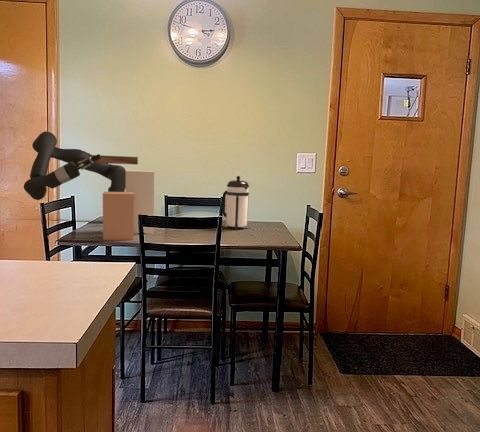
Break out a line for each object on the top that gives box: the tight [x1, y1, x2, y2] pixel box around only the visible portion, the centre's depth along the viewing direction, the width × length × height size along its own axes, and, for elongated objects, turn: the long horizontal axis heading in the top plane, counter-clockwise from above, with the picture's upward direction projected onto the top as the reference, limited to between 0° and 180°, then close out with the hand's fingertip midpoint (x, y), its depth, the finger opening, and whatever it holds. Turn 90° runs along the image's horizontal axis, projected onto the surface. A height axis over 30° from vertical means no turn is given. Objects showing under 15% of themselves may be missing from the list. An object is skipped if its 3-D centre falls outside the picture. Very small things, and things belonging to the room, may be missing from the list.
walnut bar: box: [90, 154, 139, 165], centre depth 214 cm, size 4×22×4 cm, turn 102°
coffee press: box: [221, 175, 250, 231], centre depth 255 cm, size 17×16×30 cm
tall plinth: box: [125, 169, 155, 235], centre depth 231 cm, size 10×14×32 cm
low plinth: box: [102, 191, 135, 241], centre depth 215 cm, size 10×14×22 cm
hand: (99, 156), depth 212 cm, fingers closed on walnut bar, 3 cm apart
